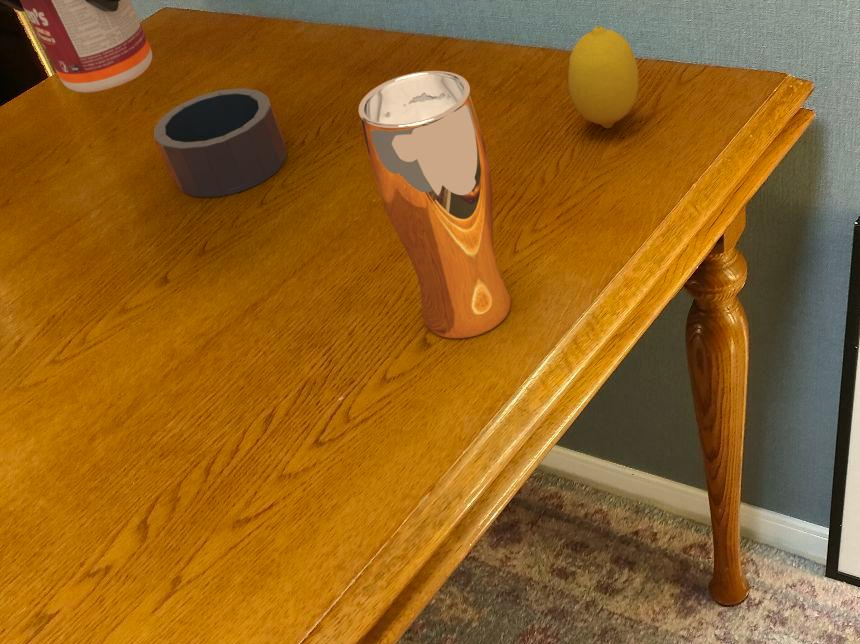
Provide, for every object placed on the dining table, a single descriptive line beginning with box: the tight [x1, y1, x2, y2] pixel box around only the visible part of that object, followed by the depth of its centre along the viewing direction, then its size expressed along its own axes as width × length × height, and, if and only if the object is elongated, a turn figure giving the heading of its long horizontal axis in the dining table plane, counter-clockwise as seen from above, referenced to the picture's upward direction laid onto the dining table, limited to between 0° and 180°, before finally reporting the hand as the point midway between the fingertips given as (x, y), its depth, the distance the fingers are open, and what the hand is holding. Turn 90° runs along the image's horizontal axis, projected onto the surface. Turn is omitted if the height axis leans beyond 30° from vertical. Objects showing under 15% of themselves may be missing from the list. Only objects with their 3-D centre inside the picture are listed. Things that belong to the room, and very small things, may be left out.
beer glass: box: [358, 70, 512, 340], centre depth 63 cm, size 7×7×15 cm
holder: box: [153, 87, 288, 198], centre depth 86 cm, size 10×10×4 cm
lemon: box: [567, 25, 640, 129], centre depth 79 cm, size 6×6×8 cm
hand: (56, 5), depth 61 cm, fingers closed on pill bottle, 6 cm apart
